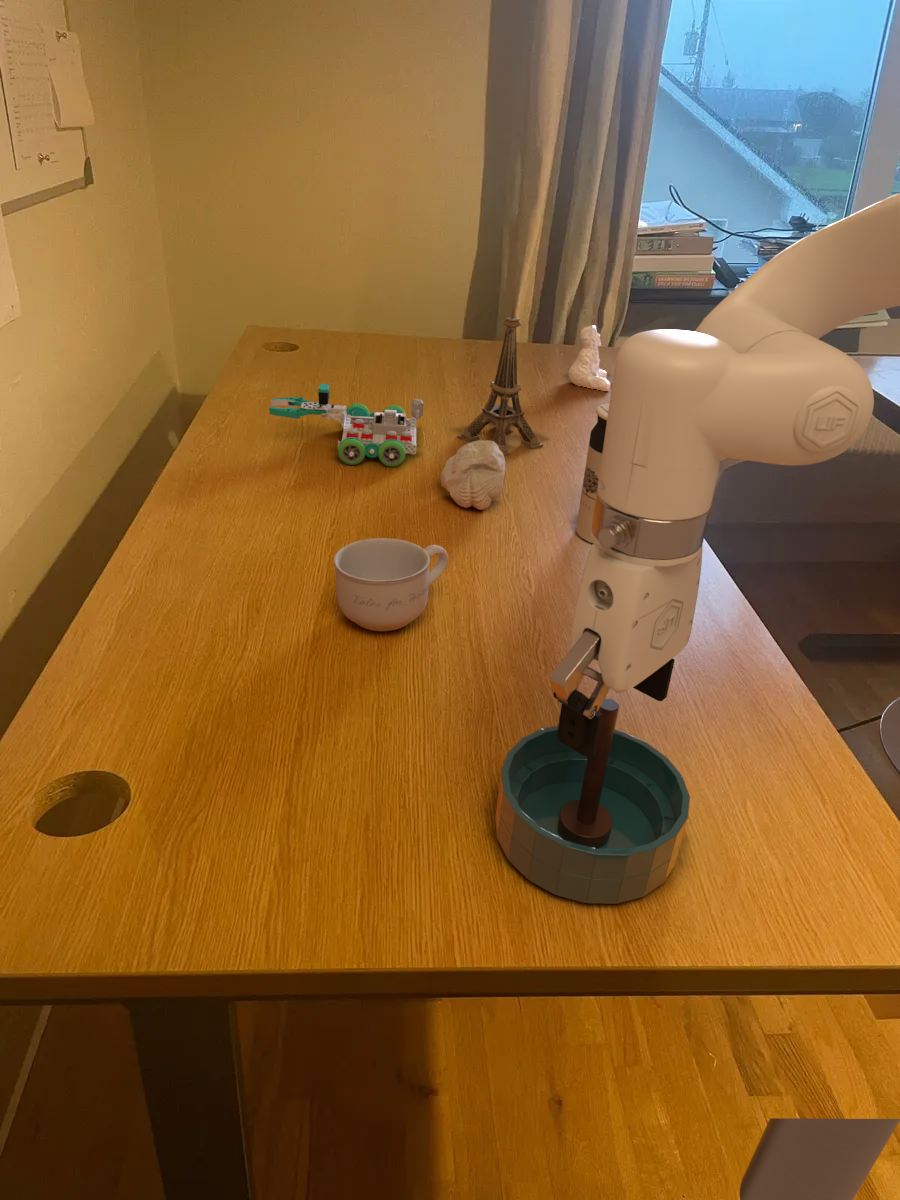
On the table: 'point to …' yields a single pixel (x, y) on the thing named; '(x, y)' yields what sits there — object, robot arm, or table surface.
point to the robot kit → (361, 427)
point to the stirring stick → (592, 791)
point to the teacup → (385, 581)
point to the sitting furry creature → (589, 362)
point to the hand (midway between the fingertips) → (613, 719)
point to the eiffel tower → (504, 398)
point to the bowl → (630, 794)
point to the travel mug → (592, 474)
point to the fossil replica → (475, 474)
